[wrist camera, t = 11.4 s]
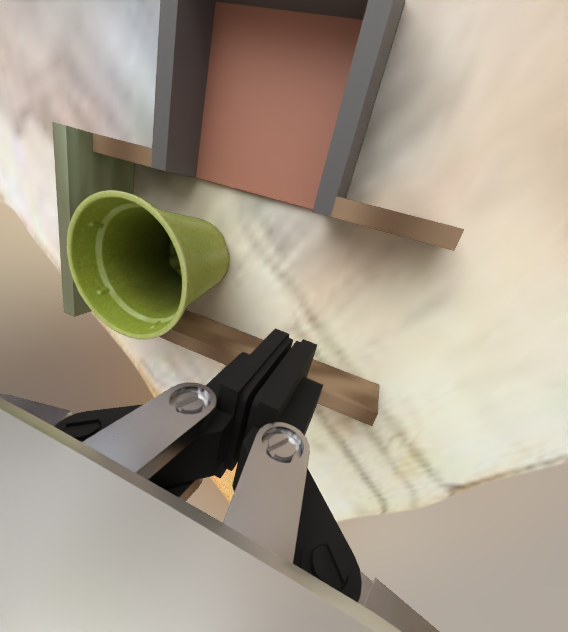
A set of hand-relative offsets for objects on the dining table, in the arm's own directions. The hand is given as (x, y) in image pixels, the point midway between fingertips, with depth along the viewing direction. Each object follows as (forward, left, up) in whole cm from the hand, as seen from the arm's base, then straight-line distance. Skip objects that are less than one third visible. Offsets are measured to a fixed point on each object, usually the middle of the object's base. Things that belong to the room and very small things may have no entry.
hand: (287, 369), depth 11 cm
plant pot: (+13, +1, -14) cm, 19 cm away
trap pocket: (+8, -11, -14) cm, 19 cm away
